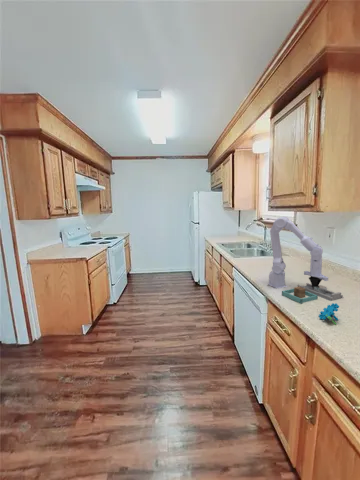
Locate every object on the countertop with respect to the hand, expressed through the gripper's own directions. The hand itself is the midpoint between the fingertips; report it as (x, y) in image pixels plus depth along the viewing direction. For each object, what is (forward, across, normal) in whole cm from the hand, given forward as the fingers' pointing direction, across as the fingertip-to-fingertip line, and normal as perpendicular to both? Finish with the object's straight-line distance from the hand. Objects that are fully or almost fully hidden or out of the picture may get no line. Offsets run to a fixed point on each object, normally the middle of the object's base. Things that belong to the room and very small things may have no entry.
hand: (315, 289), depth 139 cm
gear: (+2, -26, +23) cm, 35 cm away
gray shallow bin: (+2, -2, 0) cm, 3 cm away
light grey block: (+2, -3, 0) cm, 4 cm away
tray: (+2, -2, +14) cm, 15 cm away
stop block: (+1, -2, +14) cm, 15 cm away
